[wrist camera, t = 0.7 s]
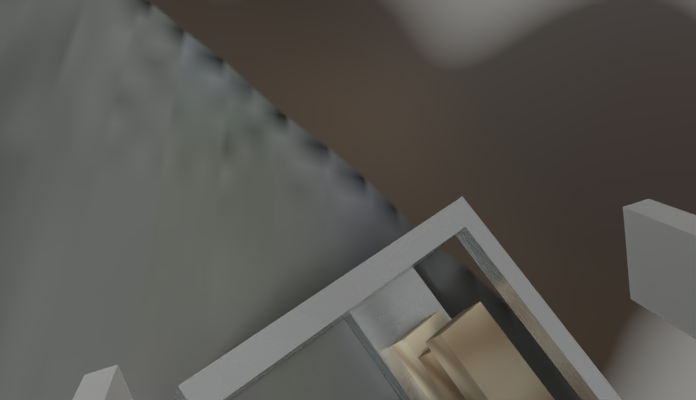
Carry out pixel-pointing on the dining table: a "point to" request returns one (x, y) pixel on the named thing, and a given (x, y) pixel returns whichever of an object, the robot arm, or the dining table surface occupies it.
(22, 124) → the dining table surface
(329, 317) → the grey open storage bin
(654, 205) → the robot arm
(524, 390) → the offcut bundle
